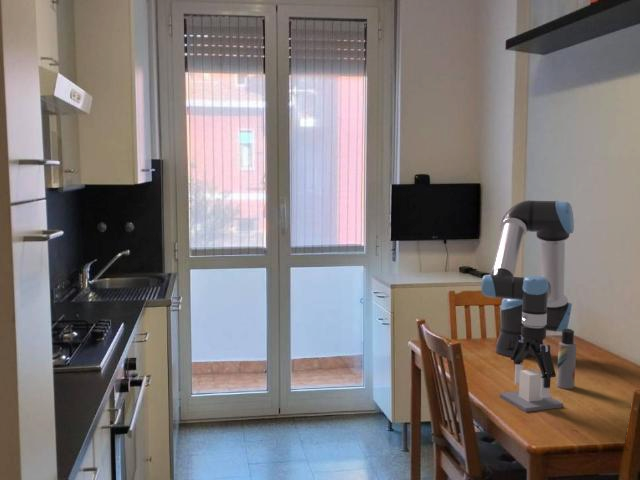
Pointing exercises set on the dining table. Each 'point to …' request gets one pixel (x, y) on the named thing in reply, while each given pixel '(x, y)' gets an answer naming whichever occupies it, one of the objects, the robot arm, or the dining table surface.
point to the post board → (530, 406)
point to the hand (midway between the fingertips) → (531, 390)
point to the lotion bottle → (566, 360)
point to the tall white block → (530, 385)
